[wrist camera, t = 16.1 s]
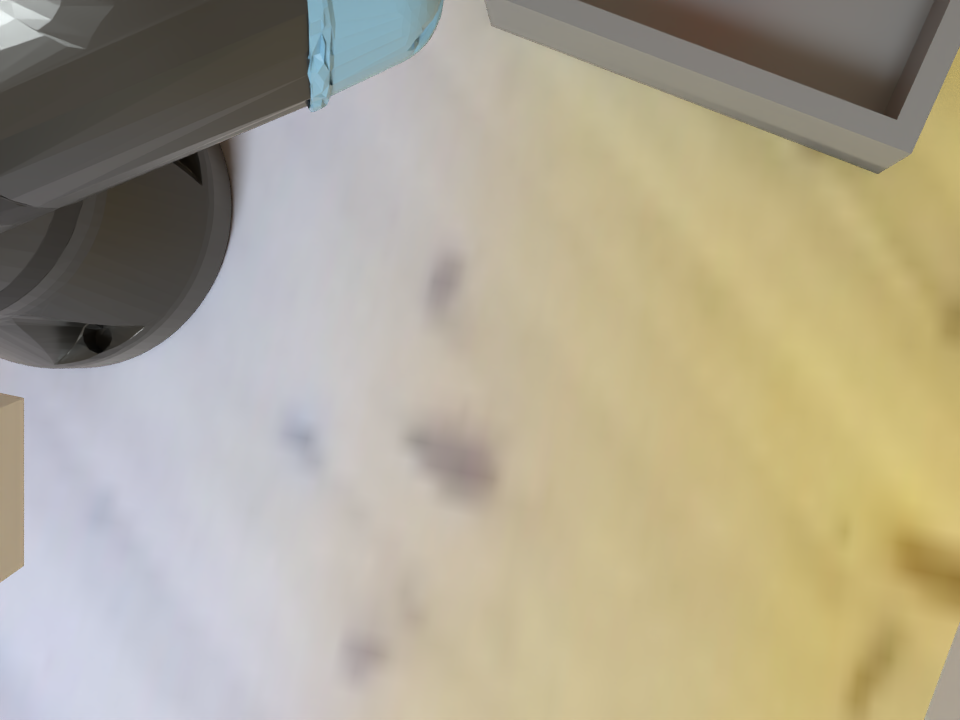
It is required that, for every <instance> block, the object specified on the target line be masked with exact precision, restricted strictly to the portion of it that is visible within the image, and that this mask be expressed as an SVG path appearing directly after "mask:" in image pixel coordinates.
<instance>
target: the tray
mask: <svg viewBox="0 0 960 720" xmlns="http://www.w3.org/2000/svg"><path fill="white" fill-rule="evenodd" d="M485 3H486V7H487V11H488V15H489V19H490V22H491V26H494V27H496V28H499V29H502V30H504V31H507V32H509V33H512V34H515V35H517V36H520V37H522V38H525V39H528V40H530V41H533V42H535V43H538V44H541V45H543V46H546V47H548V48H551V49H554V50H556V51H559V52H561V53H564V54H567V55H569V56H572V57H575V58H577V59H580V60H582V61H585V62H588V63H590V64H593V65H595V66H598V67H601V68H603V69H606V70H608V71H611V72H614V73H616V74H619V75H621V76H624V77H627V78H629V79H632V80H634V81H637V82H640V83H642V84H645V85H647V86H650V87H653V88H655V89H658V90H661V91H663V92H666V93H668V94H671V95H674V96H676V97H679V98H681V99H684V100H687V101H689V102H692V103H694V104H697V105H700V106H702V107H705V108H707V109H710V110H713V111H715V112H718V113H720V114H723V115H726V116H728V117H731V118H733V119H736V120H739V121H741V122H744V123H747V124H749V125H752V126H754V127H757V128H760V129H762V130H765V131H767V132H770V133H773V134H775V135H778V136H780V137H783V138H786V139H788V140H791V141H793V142H796V143H799V144H801V145H804V146H806V147H809V148H812V149H814V150H817V151H819V152H822V153H825V154H827V155H830V156H833V157H835V158H838V159H840V160H843V161H846V162H848V163H851V164H853V165H856V166H859V167H861V168H864V169H866V170H869V171H872V172H874V173H877V174H879V173H880V172H882V171H884V170H885V169H887V168H889V167H890V166H892V165H894V164H895V163H897V162H898V161H900V160H902V159H903V158H905V157H907V156H908V155H910V154H911V153H912V151H913V149H914V147H915V144H916V142H917V140H918V138H919V135H920V133H921V131H922V129H923V127H924V124H925V122H926V120H927V118H928V115H929V113H930V111H931V109H932V107H933V104H934V102H935V100H936V98H937V95H938V93H939V91H940V89H941V87H942V84H943V82H944V80H945V78H946V75H947V73H948V71H949V69H950V67H951V64H952V62H953V60H954V58H955V55H956V53H957V51H958V49H959V47H960V0H485Z"/></svg>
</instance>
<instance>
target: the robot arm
mask: <svg viewBox="0 0 960 720" xmlns="http://www.w3.org/2000/svg"><path fill="white" fill-rule="evenodd" d="M443 1H444V0H0V358H2V359H5V360H8V361H11V362H15V363H19V364H23V365H27V366H33V367H40V368H52V369H56V368H92V367H101V366H107V365H112V364H116V363H120V362H123V361H126V360H129V359H131V358H134V357H136V356H138V355H141V354H143V353H145V352H147V351H148V350H150V349H152V348H154V347H155V346H157V345H159V344H160V343H162V342H163V341H164V340H166V339H167V338H168V337H170V336H171V335H172V334H173V333H174V332H176V331H177V330H178V329H179V328H180V327H181V326H182V325H183V324H184V323H185V322H186V321H187V320H188V319H189V318H190V317H191V315H192V314H193V313H194V312H195V311H196V309H197V308H198V307H199V305H200V304H201V303H202V301H203V300H204V298H205V296H206V295H207V293H208V292H209V290H210V288H211V286H212V284H213V282H214V280H215V278H216V276H217V274H218V271H219V269H220V266H221V263H222V261H223V258H224V254H225V251H226V247H227V242H228V237H229V231H230V224H231V190H230V182H229V176H228V171H227V167H226V163H225V159H224V156H223V153H222V150H221V147H220V145H219V143H220V142H222V141H225V140H227V139H230V138H232V137H234V136H237V135H239V134H241V133H244V132H246V131H249V130H251V129H253V128H256V127H258V126H261V125H263V124H265V123H268V122H270V121H273V120H275V119H277V118H280V117H282V116H284V115H287V114H289V113H292V112H294V111H296V110H299V109H301V108H304V107H306V106H308V108H309V110H310V111H311V112H315V111H317V110H319V109H322V108H323V107H325V106H326V105H327V103H328V101H329V98H330V96H332V95H334V94H336V93H338V92H340V91H343V90H345V89H347V88H349V87H351V86H353V85H355V84H357V83H359V82H362V81H364V80H366V79H368V78H370V77H372V76H374V75H376V74H378V73H381V72H383V71H385V70H387V69H389V68H391V67H393V66H395V65H397V64H400V63H402V62H404V61H406V60H407V59H409V58H411V57H412V56H413V55H415V54H416V53H417V52H419V51H420V50H421V49H422V48H423V47H424V46H425V45H426V44H427V42H428V41H429V40H430V38H431V37H432V35H433V33H434V31H435V29H436V27H437V24H438V22H439V20H440V17H441V13H442V8H443ZM23 566H24V398H21V397H16V396H12V395H7V394H2V393H0V582H2V581H3V580H4V579H6V578H7V577H9V576H10V575H11V574H13V573H14V572H16V571H17V570H18V569H20V568H21V567H23ZM924 720H960V623H959V626H958V629H957V631H956V634H955V637H954V640H953V642H952V645H951V648H950V650H949V653H948V656H947V659H946V661H945V664H944V667H943V669H942V672H941V675H940V678H939V680H938V683H937V686H936V688H935V691H934V694H933V697H932V699H931V702H930V705H929V707H928V710H927V713H926V716H925V718H924Z"/></svg>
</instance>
